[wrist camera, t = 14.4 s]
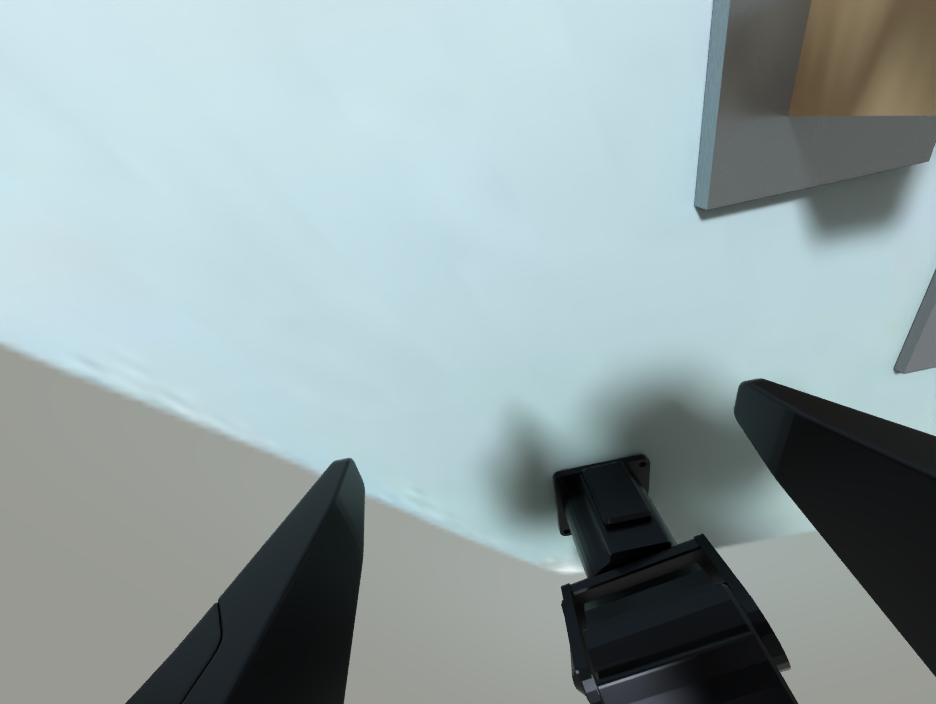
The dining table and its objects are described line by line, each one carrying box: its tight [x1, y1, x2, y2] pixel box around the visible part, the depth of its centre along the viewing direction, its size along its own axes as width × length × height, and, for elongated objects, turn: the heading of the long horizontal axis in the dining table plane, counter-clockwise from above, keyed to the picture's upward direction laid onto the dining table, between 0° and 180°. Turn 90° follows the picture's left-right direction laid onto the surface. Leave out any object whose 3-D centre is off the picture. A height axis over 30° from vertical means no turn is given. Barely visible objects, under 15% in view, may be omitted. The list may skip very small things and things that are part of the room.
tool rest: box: [694, 0, 936, 210], centre depth 16 cm, size 10×10×1 cm
